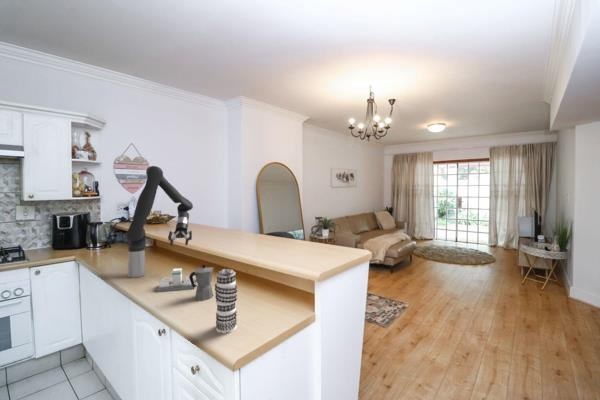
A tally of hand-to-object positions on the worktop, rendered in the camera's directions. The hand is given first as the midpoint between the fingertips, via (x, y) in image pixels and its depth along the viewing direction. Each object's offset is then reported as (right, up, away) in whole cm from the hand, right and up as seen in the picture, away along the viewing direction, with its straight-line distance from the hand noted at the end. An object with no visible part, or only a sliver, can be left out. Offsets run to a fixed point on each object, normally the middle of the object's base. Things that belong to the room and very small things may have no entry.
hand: (178, 245), depth 174 cm
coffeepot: (+26, -24, -29) cm, 46 cm away
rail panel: (+6, -23, -14) cm, 27 cm away
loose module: (+5, -21, -14) cm, 26 cm away
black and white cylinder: (+47, -26, -60) cm, 80 cm away
